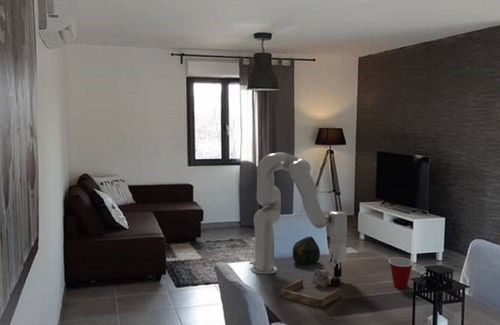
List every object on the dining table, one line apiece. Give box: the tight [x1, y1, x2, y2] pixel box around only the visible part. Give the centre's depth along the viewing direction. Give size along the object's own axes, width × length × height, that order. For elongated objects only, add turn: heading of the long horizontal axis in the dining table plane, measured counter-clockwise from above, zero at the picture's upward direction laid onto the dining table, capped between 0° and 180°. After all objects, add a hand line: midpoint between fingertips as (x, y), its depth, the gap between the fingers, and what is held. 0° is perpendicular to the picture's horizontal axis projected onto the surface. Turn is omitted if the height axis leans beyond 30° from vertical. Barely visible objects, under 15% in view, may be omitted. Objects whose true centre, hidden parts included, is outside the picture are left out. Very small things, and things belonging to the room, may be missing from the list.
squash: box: [292, 236, 321, 265], centre depth 246 cm, size 14×15×15 cm
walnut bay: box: [278, 278, 342, 308], centre depth 198 cm, size 20×17×3 cm
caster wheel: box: [311, 268, 342, 288], centre depth 212 cm, size 7×11×10 cm
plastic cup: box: [388, 256, 415, 289], centre depth 209 cm, size 11×11×12 cm
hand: (337, 276), depth 217 cm, fingers closed
